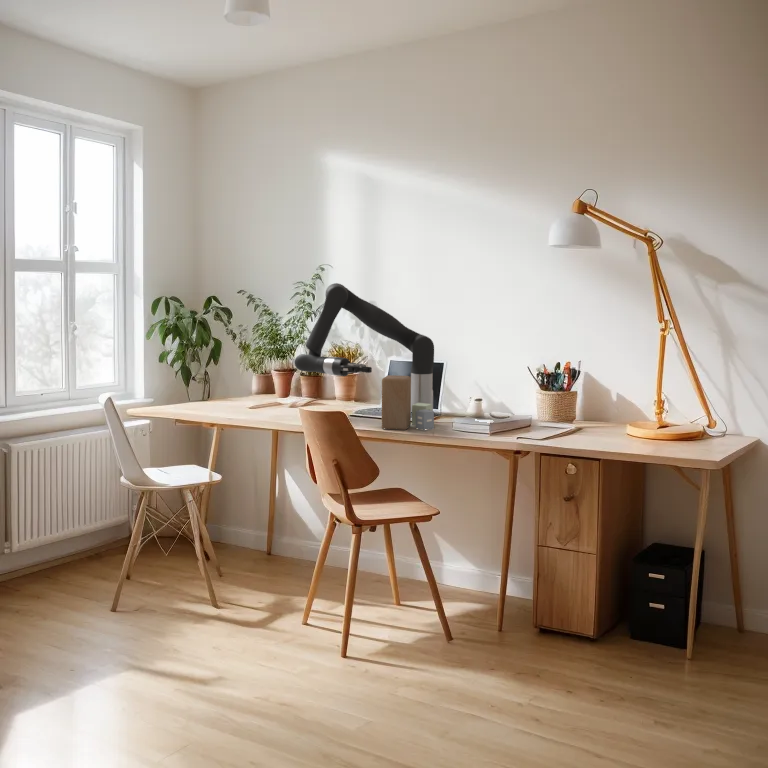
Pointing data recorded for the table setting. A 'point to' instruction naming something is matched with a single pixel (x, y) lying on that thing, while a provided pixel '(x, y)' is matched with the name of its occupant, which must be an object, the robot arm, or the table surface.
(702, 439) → the table surface
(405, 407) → the block
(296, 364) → the robot arm
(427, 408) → the sage block
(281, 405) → the table surface
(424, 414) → the slate block
